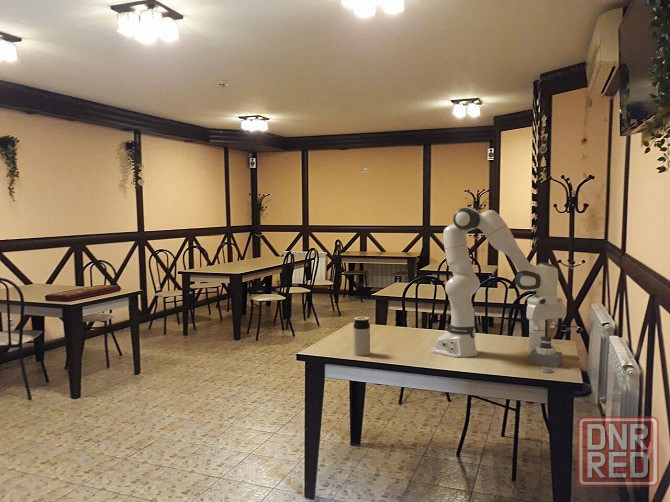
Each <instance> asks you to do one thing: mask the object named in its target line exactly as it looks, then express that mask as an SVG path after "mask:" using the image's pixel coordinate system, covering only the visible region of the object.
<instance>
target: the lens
mask: <svg viewBox="0 0 670 502" xmlns="http://www.w3.org/2000/svg"><path fill="white" fill-rule="evenodd" d="M551 346H552V337H551V336H546V335H545V336H542V337H541V348H544V349H551Z"/></svg>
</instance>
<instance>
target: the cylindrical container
mask: <svg viewBox="0 0 670 502" xmlns="http://www.w3.org/2000/svg"><path fill="white" fill-rule="evenodd" d="M528 322H529V323H528V324H529V325H528V326H529V328H528V329H529V331H528V333H529V334H528V337H529V338H528V355H529V356H530V352H531V351H533V350H534V349H535V348H536V346H537V345H541V337H542V336H546V320H539V323H538V325H539V326H540V330H535V325H534V323H533V321H531V320H529V321H528Z"/></svg>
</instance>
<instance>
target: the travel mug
mask: <svg viewBox="0 0 670 502" xmlns="http://www.w3.org/2000/svg"><path fill="white" fill-rule="evenodd" d="M353 319H354V323H353V355H356V356H358V357H362V356H363V357H365V356H368V355H370V354H371V324H370V322H369V320H370V317H368V316H355V317H353Z"/></svg>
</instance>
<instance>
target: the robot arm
mask: <svg viewBox="0 0 670 502" xmlns="http://www.w3.org/2000/svg"><path fill="white" fill-rule="evenodd" d="M452 222H453V224H450V225H447V226H446V227H445V228H444V229H443V234H442V235H443V247H444V252H445V258H446V259H445V260H446V263H447V266H448V267H449V268H450V270H451V273H452V275H453V276H452V277H450V279H449V280H447V281H446V283H445V286H444V288H445V293H446V294H447V297H448V300H449V305H450V311H451V312H450V313H451V314H450V317H451V319H450V324H447V326H446V329H447V331H446V332H445V333H443V334H442V335H440V336H439V337H438V338H437V339H436V341H435V346H433V347H431V348H430V352H431V353H433V354H437V355H443V356H447V357H452V358H467V357H469V358H471V357H475V356H477V355H478V350H477V347H476V345H477V344H476V325H475V308H474V306H473V303H472V298H471V296H473V295H474V294H476V292H478V290H479V289H480V287H481V283H480V279H479V277H478V276H477V275H476V272H475V269H474V267H473V264H472V261H471V258H470V257H471V256H470V253H469V248H468V247H469V246H468V241H467V234H469V233H471V232H472V231H473V232H474V231H475V230H476V229H479V230H480V231H481V232H482V233H483V235H484V237H485V238H486V239H487V241H488V243H489V244H490V245H491V246H492V248H494V249H495V250H496V251H499V252H502V253H503V254H505V255H506V256H508V258H509V259H510V260H511V262H512V264H513V265H514V266H515V268H516V269H517V271H518V272H517V273H516V275H515V277H514V282H515V285H516V286H517V287H518V288H519V289H521V290H523V291H530V290H536V293H534V294H533V295H532V296H530V297H528V298H527V299H526V301H527V303H528V304H527V306H526V319H527V320H531V321H533V323H534V325H535V330H540V326H539V325H538V323H539V320H545V321H546V320H551V323H550V324H549V328H551V329H555V328H556V324H557V323H558V320H559V319H563V318H564V317H565V305H564V300H563V298H561V297H558V285H559V270H558V267H557V266H556V265H554V264H553V263H549V262H539V263H538V264H537V265H533V264H532V263H530V261H529V259H528V258H527V257H526V255H525V254H524V252H523V251H522V249H521V248H520V246H519V245H518V243H517V241H516V239H515V237H514V235H513V233H512V231H511V229H510V228H509V226H508V225H507V223H506V221H504V219H503V218H502V217H501V216H500V214H499V213H497V211H495V210H492V209H489V210H485V211H483V212H480V211H479V210H478V209H476V208H473V207H462V208H459V209H457V210H456V211H455V213H454V214H453V219H452Z"/></svg>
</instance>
